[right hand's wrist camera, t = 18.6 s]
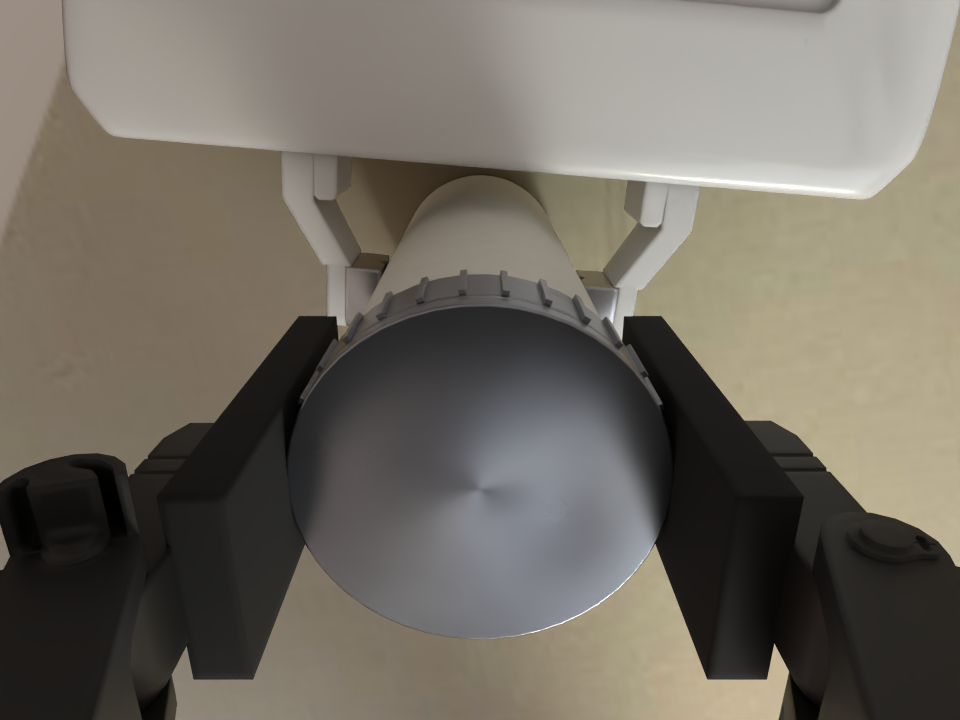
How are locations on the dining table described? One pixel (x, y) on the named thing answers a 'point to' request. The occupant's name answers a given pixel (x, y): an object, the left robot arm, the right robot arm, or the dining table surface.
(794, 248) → the dining table surface
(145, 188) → the dining table surface
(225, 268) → the dining table surface
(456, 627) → the lid
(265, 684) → the dining table surface
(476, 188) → the jar
